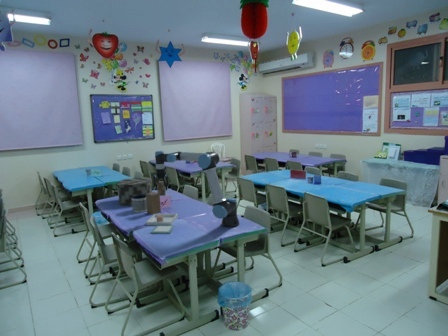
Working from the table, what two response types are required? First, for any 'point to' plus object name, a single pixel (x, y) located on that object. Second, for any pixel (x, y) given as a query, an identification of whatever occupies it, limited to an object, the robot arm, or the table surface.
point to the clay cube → (160, 219)
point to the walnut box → (161, 188)
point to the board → (162, 230)
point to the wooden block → (153, 203)
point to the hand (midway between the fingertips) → (162, 193)
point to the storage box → (133, 189)
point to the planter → (139, 203)
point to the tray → (167, 219)
